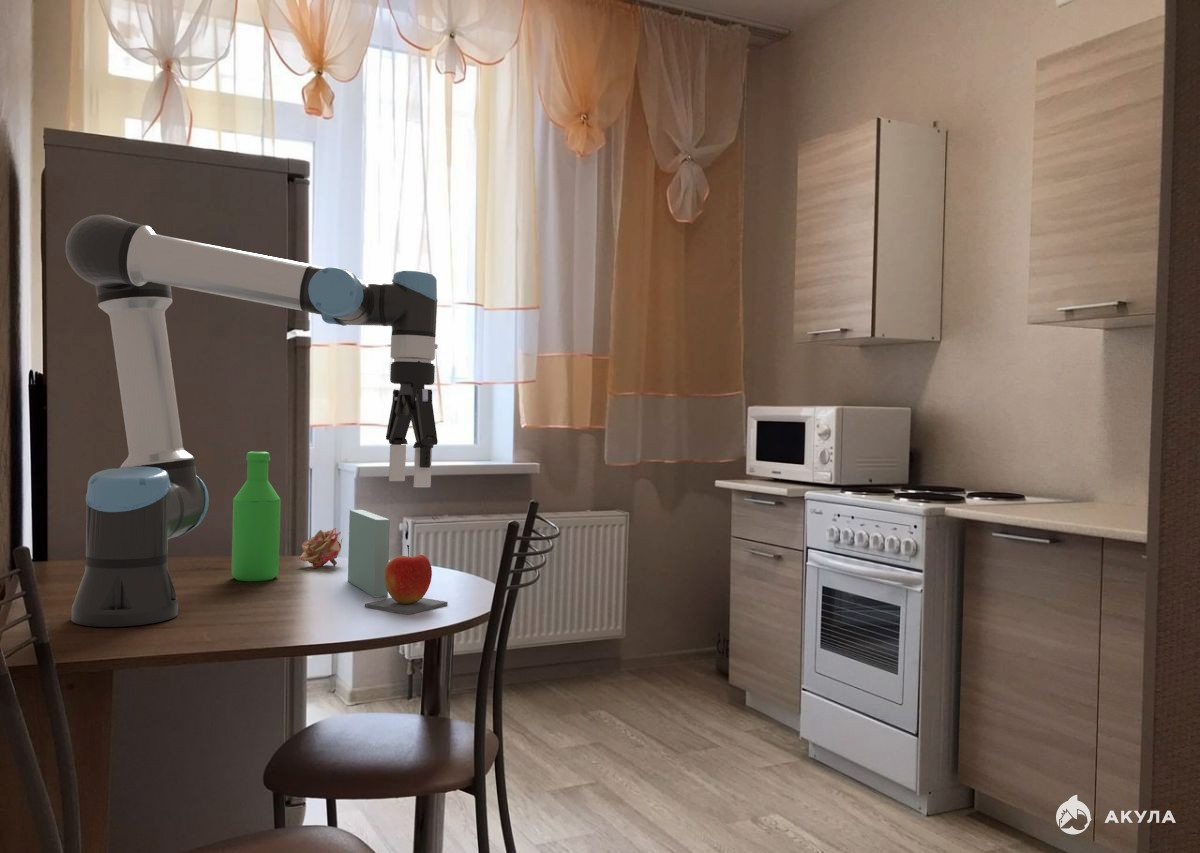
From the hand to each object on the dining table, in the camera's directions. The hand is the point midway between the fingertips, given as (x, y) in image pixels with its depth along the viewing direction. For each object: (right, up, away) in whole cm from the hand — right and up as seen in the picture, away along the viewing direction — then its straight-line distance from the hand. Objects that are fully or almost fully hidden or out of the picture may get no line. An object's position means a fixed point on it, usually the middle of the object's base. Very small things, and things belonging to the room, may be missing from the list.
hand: (409, 484), depth 168 cm
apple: (0, -21, 0) cm, 21 cm away
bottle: (-35, -20, +23) cm, 46 cm away
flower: (-27, -20, +39) cm, 51 cm away
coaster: (0, -21, 0) cm, 21 cm away
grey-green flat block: (-11, -21, +16) cm, 28 cm away
